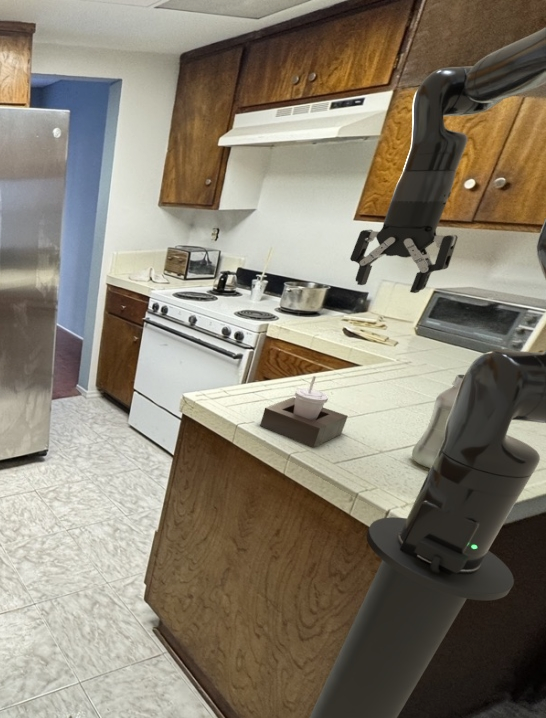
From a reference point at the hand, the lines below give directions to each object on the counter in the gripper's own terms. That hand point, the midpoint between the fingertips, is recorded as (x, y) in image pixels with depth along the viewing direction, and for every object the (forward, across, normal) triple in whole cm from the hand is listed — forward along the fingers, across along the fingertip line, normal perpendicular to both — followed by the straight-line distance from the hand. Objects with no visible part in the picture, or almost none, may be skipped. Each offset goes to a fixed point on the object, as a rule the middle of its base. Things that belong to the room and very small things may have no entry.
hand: (387, 288), depth 91 cm
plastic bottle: (+36, +14, +10) cm, 40 cm away
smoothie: (+36, -8, +3) cm, 37 cm away
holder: (+36, -8, +3) cm, 37 cm away
